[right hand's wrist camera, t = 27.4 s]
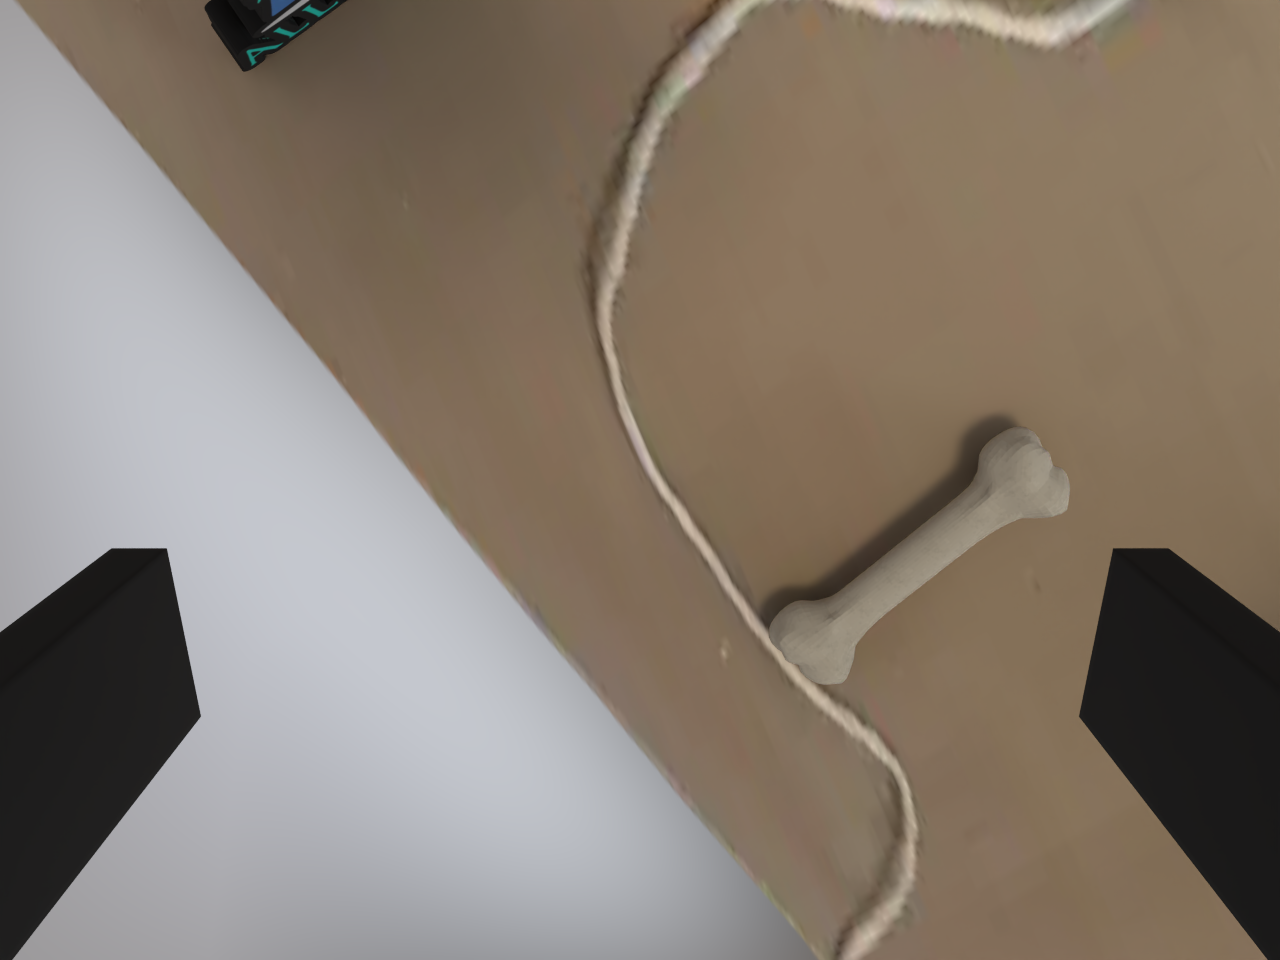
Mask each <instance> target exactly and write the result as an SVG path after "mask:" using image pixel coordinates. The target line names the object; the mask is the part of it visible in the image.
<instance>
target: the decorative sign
mask: <svg viewBox="0 0 1280 960" xmlns="http://www.w3.org/2000/svg"><path fill="white" fill-rule="evenodd" d="M345 1H346V0H211V1H209V2H208V3H207V4H206V6H205V11H206V13H207V14H208V16H209V19H210V21H211V22H212V24H211V26H212V27H213V29H214V30H215V32H216V33H217V35H218V36H219V37H220V39H221V40H222V42H223V43H224V45H225V46H226V48H227V49H228V50H229V52H230V53H231V55H232V56H233V58H234V59H235V61H236V62H237V63H238V65H239V66H240V68H241V69H242V71H248V70H251V69H253V68H254V67H256V66H257V65H258V64H260V63H261V62H262V61H263V60H264V59H265V55H266V54H271V53H274V52H276V51H278V50H279V49H281V48H282V47H284V46H285V45H286V44H287V43H289V42H290V41H291V40H293V39H294V38H296V37H297V36H299V35H300V34H301V33H303V32H304V31H306V30H307V29H308V28H310V27H311V26H312V25H313V24H314V23H315V22H317V21H318V20H320V19H322V18H323V17H325V16H326V15H327V14H329V13H330V12H331V11H333V10H334V9H336V8H337V7H338V6H340V5H341V4H342V3H343V2H345Z"/></svg>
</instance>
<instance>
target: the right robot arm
mask: <svg viewBox="0 0 1280 960" xmlns="http://www.w3.org/2000/svg"><path fill="white" fill-rule="evenodd" d="M200 717H201V714H200V710H199V705H198V700H197V695H196V690H195V685H194V680H193V675H192V670H191V666H190V661H189V656H188V651H187V646H186V641H185V636H184V631H183V626H182V621H181V616H180V611H179V606H178V601H177V596H176V591H175V587H174V582H173V577H172V572H171V567H170V562H169V557H168V552H167V549H166V548H112V549H110V550H109V551H108V552H106V553H105V554H104V555H102V556H101V557H100V558H98V559H97V560H96V561H94V562H93V563H92V564H90V565H89V566H88V567H86V568H85V569H84V570H82V571H81V572H80V573H78V574H77V575H76V576H74V577H73V578H72V579H70V580H69V581H68V582H66V583H65V584H64V585H62V586H61V587H60V588H58V589H57V590H56V591H55V592H53V593H52V594H50V595H49V596H48V597H47V598H45V599H44V600H43V601H41V602H40V603H39V604H37V605H36V606H35V607H33V608H32V609H31V610H29V611H28V612H27V613H25V614H24V615H23V616H21V617H20V618H19V619H17V620H16V621H15V622H13V623H12V624H11V625H9V626H8V627H7V628H5V629H4V630H3V631H1V632H0V960H12V959H13V958H14V957H15V956H16V954H17V953H18V952H19V950H20V949H21V948H22V947H23V945H24V944H25V943H26V941H27V940H28V939H29V938H30V936H31V935H32V934H33V932H34V931H35V930H36V928H37V927H38V926H39V925H40V923H41V922H42V921H43V919H44V918H45V917H46V916H47V914H48V913H49V912H50V910H51V909H52V908H53V907H54V905H55V904H56V903H57V901H58V900H59V899H60V897H61V896H62V895H63V894H64V892H65V891H66V890H67V889H68V887H69V886H70V885H71V883H72V882H73V881H74V879H75V878H76V877H77V876H78V874H79V873H80V872H81V870H82V869H83V868H84V867H85V865H86V864H87V863H88V861H89V860H90V859H91V858H92V856H93V855H94V854H95V852H96V851H97V850H98V848H99V847H100V846H101V845H102V843H103V842H104V841H105V840H106V838H107V837H108V836H109V834H110V833H111V832H112V830H113V829H114V828H115V827H116V825H117V824H118V823H119V821H120V820H121V819H122V818H123V816H124V815H125V814H126V812H127V811H128V810H129V809H130V807H131V806H132V805H133V803H134V802H135V801H136V800H137V798H138V797H139V796H140V794H141V793H142V792H143V790H144V789H145V788H146V787H147V785H148V784H149V783H150V781H151V780H152V779H153V778H154V776H155V775H156V774H157V772H158V771H159V770H160V769H161V767H162V766H163V765H164V763H165V762H166V761H167V759H168V758H169V757H170V756H171V754H172V753H173V752H174V750H175V749H176V748H177V747H178V745H179V744H180V743H181V742H182V740H183V739H184V738H185V736H186V735H187V734H188V732H189V731H190V730H191V729H192V727H193V726H194V725H195V723H196V722H197V721H198V719H199V718H200ZM1079 717H1080V718H1081V720H1082V721H1083V722H1084V723H1085V725H1086V726H1087V727H1088V729H1089V730H1090V731H1091V732H1092V734H1093V735H1094V736H1095V738H1096V739H1097V740H1098V742H1099V743H1100V744H1101V745H1102V747H1103V748H1104V749H1105V751H1106V752H1107V753H1108V754H1109V756H1110V757H1111V758H1112V760H1113V761H1114V762H1115V763H1116V765H1117V766H1118V767H1119V769H1120V770H1121V771H1122V772H1123V774H1124V775H1125V776H1126V778H1127V779H1128V780H1129V781H1130V783H1131V784H1132V785H1133V787H1134V788H1135V789H1136V791H1137V792H1138V793H1139V794H1140V796H1141V797H1142V798H1143V800H1144V801H1145V802H1146V803H1147V805H1148V806H1149V807H1150V809H1151V810H1152V811H1153V812H1154V814H1155V815H1156V816H1157V818H1158V819H1159V820H1160V821H1161V823H1162V824H1163V825H1164V827H1165V828H1166V829H1167V830H1168V832H1169V833H1170V834H1171V836H1172V837H1173V838H1174V840H1175V841H1176V842H1177V843H1178V845H1179V846H1180V847H1181V849H1182V850H1183V851H1184V852H1185V854H1186V855H1187V856H1188V858H1189V859H1190V860H1191V861H1192V863H1193V864H1194V865H1195V867H1196V868H1197V869H1198V870H1199V872H1200V873H1201V874H1202V876H1203V877H1204V878H1205V879H1206V881H1207V882H1208V883H1209V885H1210V886H1211V887H1212V889H1213V890H1214V891H1215V892H1216V894H1217V895H1218V896H1219V898H1220V899H1221V900H1222V901H1223V903H1224V904H1225V905H1226V907H1227V908H1228V909H1229V910H1230V912H1231V913H1232V914H1233V916H1234V917H1235V918H1236V919H1237V921H1238V922H1239V923H1240V925H1241V926H1242V927H1243V928H1244V930H1245V931H1246V932H1247V934H1248V935H1249V936H1250V938H1251V939H1252V940H1253V941H1254V943H1255V944H1256V945H1257V947H1258V948H1259V949H1260V950H1261V952H1262V953H1263V954H1264V956H1265V957H1266V958H1267V959H1268V960H1280V632H1279V631H1277V630H1276V629H1275V628H1273V627H1272V626H1271V625H1269V624H1268V623H1267V622H1265V621H1264V620H1263V619H1261V618H1260V617H1259V616H1257V615H1256V614H1255V613H1253V612H1252V611H1251V610H1249V609H1248V608H1247V607H1245V606H1244V605H1243V604H1242V603H1240V602H1239V601H1238V600H1236V599H1235V598H1234V597H1232V596H1231V595H1230V594H1228V593H1227V592H1226V591H1224V590H1223V589H1222V588H1220V587H1219V586H1218V585H1216V584H1215V583H1214V582H1212V581H1211V580H1210V579H1208V578H1207V577H1206V576H1204V575H1203V574H1202V573H1200V572H1199V571H1198V570H1196V569H1195V568H1194V567H1192V566H1191V565H1190V564H1188V563H1187V562H1186V561H1184V560H1183V559H1182V558H1180V557H1179V556H1178V555H1176V554H1175V553H1174V552H1172V551H1171V550H1170V549H1169V548H1113V552H1112V557H1111V562H1110V567H1109V572H1108V577H1107V582H1106V587H1105V591H1104V596H1103V601H1102V606H1101V611H1100V616H1099V621H1098V626H1097V631H1096V636H1095V641H1094V646H1093V651H1092V655H1091V660H1090V665H1089V670H1088V675H1087V680H1086V685H1085V690H1084V695H1083V700H1082V705H1081V710H1080V714H1079Z"/></svg>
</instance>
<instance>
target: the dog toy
mask: <svg viewBox="0 0 1280 960" xmlns="http://www.w3.org/2000/svg"><path fill="white" fill-rule="evenodd" d="M1069 494H1070V485H1069V480H1068V477H1067V474H1066V473H1065V472H1064V470H1063V469H1062V468H1059V467H1056V466H1054V465H1053V464H1052V461H1051V457H1050V454H1049V452H1048V451H1047V450H1046V449H1044V448H1043V447H1042V445H1041V442H1040V439H1039V438H1038V437H1037V435H1036V434H1035V433H1034V432H1033V431H1031V430H1029V429H1027V428H1026V427H1018V426H1016V427H1013V428H1009V429H1007V430H1005V431H1003V432H1001V433H1000V434H998V435H996V436H995V437H994V438H992V439H991V440H990V441H989V442H988V443H987V444H986V445H985V446H984V447H983V449H982V450H981V452H980V454H979V460H978V470H977V473H976V475H975V477H974V479H973V481H972V482H971V484H970V485H969V486H968V487H967V488H966V489H965V490H964V491H963V492H962V493H961V494H960V495H958V496H957V497H956V498H955V499H953V500H952V501H951V502H950V503H948V504H947V505H946V506H945V507H943V508H942V509H941V510H940V511H938V512H937V513H936V514H935V515H933V516H932V517H931V518H930V519H929V520H927V521H926V522H925V523H924V524H922V525H921V526H920V527H919V528H917V529H916V530H915V531H914V532H912V533H911V534H910V535H909V536H907V537H906V538H905V539H904V540H902V541H901V542H900V543H899V544H897V545H896V546H895V547H894V548H892V549H891V550H890V551H889V552H887V553H886V554H885V555H884V556H882V557H881V558H880V559H879V560H877V561H876V562H875V563H874V564H872V565H871V566H870V567H869V568H868V569H866V570H865V571H864V572H863V573H861V574H860V575H859V576H858V577H856V578H855V579H854V580H853V581H851V582H850V583H849V584H848V585H846V586H845V587H844V588H843V589H841V590H840V591H838V592H837V593H836V594H834V595H832V596H830V597H827V598H823V599H820V600H814V601H810V600H799V601H795V602H792V603H790V604H789V605H787V606H786V607H784V608H783V609H782V610H781V611H780V612H779V613H778V614H777V615H776V617H775V618H774V619H773V621H772V623H771V625H770V628H769V638H770V640H771V642H772V644H773V645H774V646H775V647H776V648H777V649H779V650H780V651H782V653H783V655H784V658H785V660H787V661H788V662H790V663H793V664H797V665H799V668H800V671H801V673H803V674H804V676H805V677H807V678H808V679H810V680H812V681H813V682H816V683H819V684H828V685H829V684H841V683H843V682H844V681H845V679H846V678H847V676H848V674H849V671H850V669H851V666H852V663H853V659H854V653H855V646H856V644H857V643H858V641H859V640H860V639H861V638H862V636H863V635H864V634H865V633H866V632H867V631H868V630H869V629H870V628H871V627H872V626H873V625H874V624H875V623H876V622H877V621H878V620H879V619H880V618H881V617H883V616H884V615H885V614H886V613H887V612H889V611H890V610H891V609H893V608H894V607H895V606H896V605H898V604H899V603H900V602H901V601H903V600H904V599H905V598H906V597H908V596H909V595H910V594H912V593H913V592H914V591H915V590H917V589H918V588H919V587H921V586H922V585H923V584H924V583H926V582H927V581H928V580H930V579H931V578H932V577H933V576H935V575H936V574H937V573H938V572H940V571H941V570H942V569H944V568H945V567H946V566H947V565H949V564H950V563H951V562H953V561H954V560H955V559H956V558H958V557H959V556H960V555H962V554H963V553H964V552H965V551H967V550H968V549H969V548H971V547H972V546H973V545H975V544H976V543H977V542H979V541H980V540H982V539H983V538H985V537H986V536H988V535H989V534H991V533H992V532H994V531H996V530H997V529H999V528H1001V527H1003V526H1005V525H1007V524H1009V523H1011V522H1013V521H1016V520H1018V519H1021V518H1047V517H1053V516H1056V515H1060V514H1062V513H1063V512H1065V511H1066V510H1067V507H1068V500H1069Z"/></svg>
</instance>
